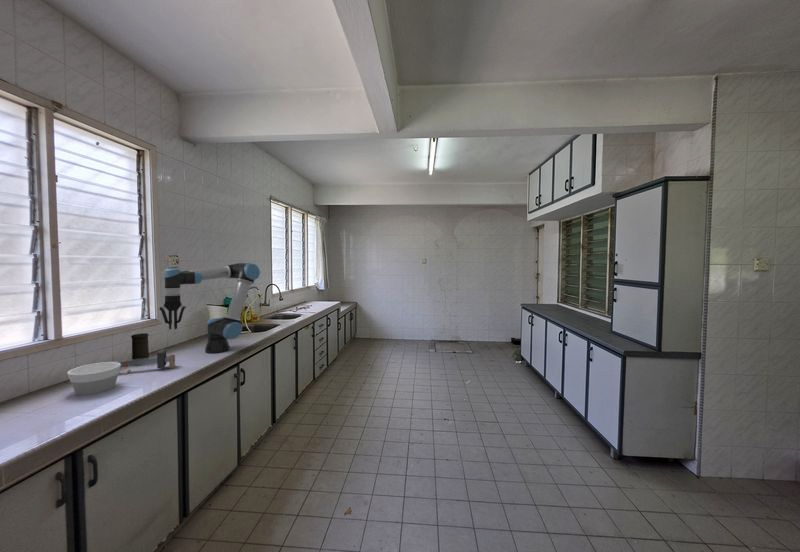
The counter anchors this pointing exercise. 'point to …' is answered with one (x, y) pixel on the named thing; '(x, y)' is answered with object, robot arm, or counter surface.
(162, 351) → the collar
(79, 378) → the bowl
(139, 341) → the container
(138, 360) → the bar
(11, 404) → the counter surface
